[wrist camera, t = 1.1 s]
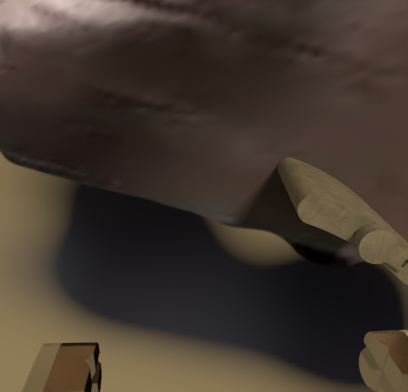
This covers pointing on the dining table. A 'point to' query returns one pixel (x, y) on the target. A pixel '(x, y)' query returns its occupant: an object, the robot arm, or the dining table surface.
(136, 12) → the dining table surface
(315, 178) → the hip flask
